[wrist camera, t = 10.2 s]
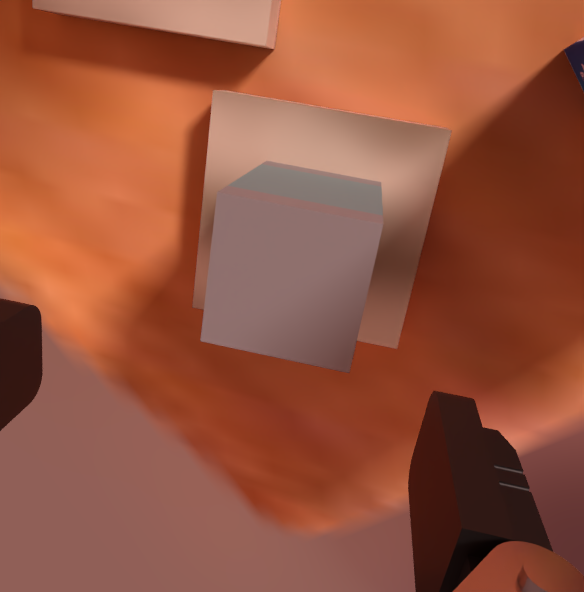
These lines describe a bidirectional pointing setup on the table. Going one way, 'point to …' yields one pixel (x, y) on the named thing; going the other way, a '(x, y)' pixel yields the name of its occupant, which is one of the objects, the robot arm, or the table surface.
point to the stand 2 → (340, 160)
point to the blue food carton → (577, 59)
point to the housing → (292, 264)
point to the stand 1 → (182, 17)
